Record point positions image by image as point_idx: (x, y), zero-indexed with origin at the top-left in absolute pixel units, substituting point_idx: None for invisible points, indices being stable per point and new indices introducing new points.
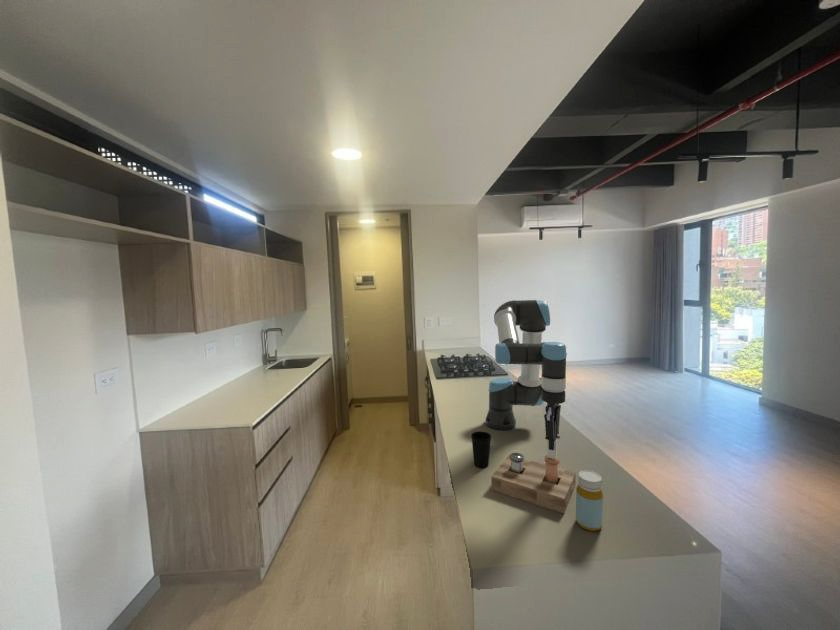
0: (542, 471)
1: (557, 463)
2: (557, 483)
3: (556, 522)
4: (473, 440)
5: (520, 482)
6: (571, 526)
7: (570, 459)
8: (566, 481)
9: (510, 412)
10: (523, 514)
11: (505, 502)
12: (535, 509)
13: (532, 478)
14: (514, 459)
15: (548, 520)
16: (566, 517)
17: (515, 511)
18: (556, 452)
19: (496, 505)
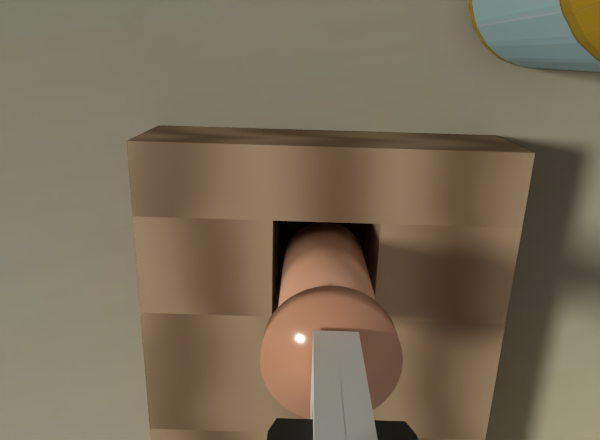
0: (253, 341)
1: (370, 299)
2: (332, 228)
3: (589, 159)
4: None
5: (459, 420)
6: (594, 81)
7: None
8: (301, 179)
9: None
10: (584, 316)
11: (518, 409)
12: (516, 276)
13: None
14: None
15: (587, 199)
16: (521, 119)
17: (574, 353)
18: (334, 368)
19: (561, 434)
